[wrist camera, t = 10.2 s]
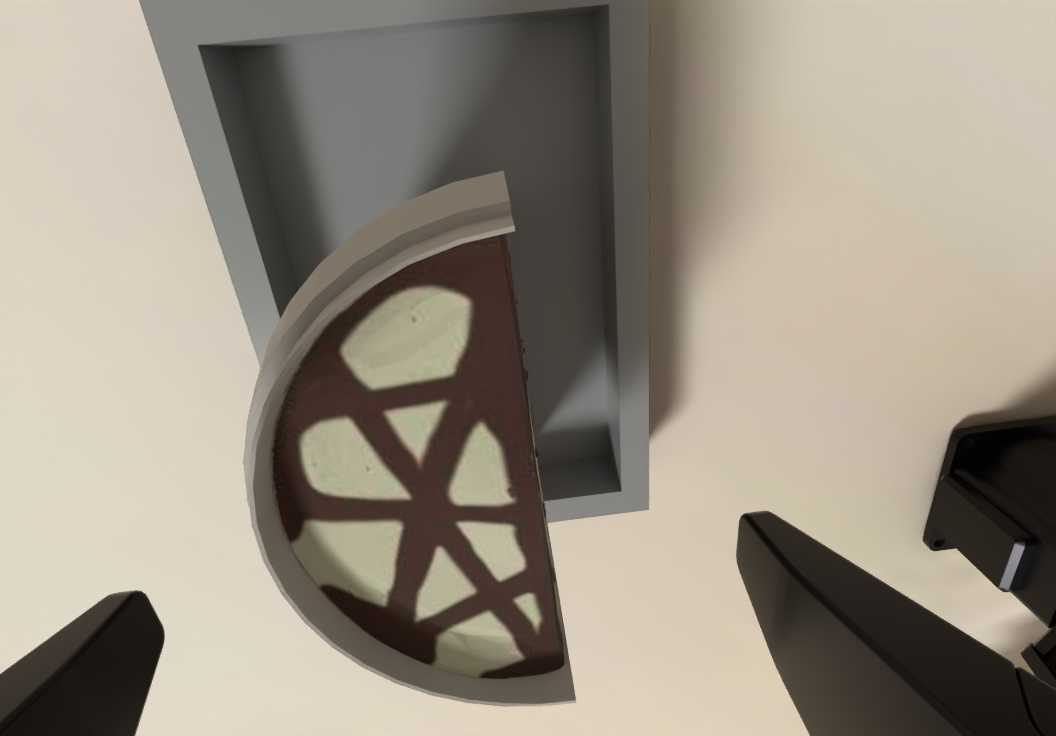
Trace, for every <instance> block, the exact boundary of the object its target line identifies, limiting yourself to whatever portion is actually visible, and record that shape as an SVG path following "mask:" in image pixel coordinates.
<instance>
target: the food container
mask: <svg viewBox="0 0 1056 736" xmlns="http://www.w3.org/2000/svg"><path fill="white" fill-rule="evenodd" d="M513 231H515V226H514V222H513V218H512V213H511V206H510V199H509V194H508V189H507V185H506V180H505V175H504V171H499V172H495V173H491V174H487V175H482V176H478V177H474V178H469V179H465V180H461V181H457V182H452V183H450V184H448V185H445V186H443V187H440V188H438V189H435V190H433V191H430V192H428V193H425V194H423V195H420V196H418V197H415V198H413V199H411V200H408V201H406V202H403V203H401V204H400V205H398V206H396V207H395V208H393V209H391V210H390V211H388V212H387V213H385V214H383V215H382V216H380V217H378V218H377V219H375V220H374V221H372V222H370V223H369V224H367V225H365V226H364V227H362V228H361V229H359V230H357V231H356V232H355V233H354V234H353V235H352V236H350V237H349V238H348V239H347V240H346V241H345V242H344V243H343V244H341V245H340V246H339V247H338V248H337V249H336V250H335V251H333V252H332V253H331V254H330V255H329V256H328V257H327V258H326V259H324V260H323V261H322V262H321V263H320V264H319V265H318V266H317V268H316V269H315V270H314V271H313V273H312V274H311V275H310V276H309V278H308V279H307V280H306V281H305V283H304V284H303V285H302V287H301V288H300V289H299V290H298V292H297V293H296V294H295V295H294V297H293V298H292V299H291V301H290V302H289V304H288V306H287V307H286V309H285V311H284V313H283V315H282V317H281V319H280V321H279V323H278V325H277V327H276V328H275V330H274V332H273V334H272V336H271V338H270V340H269V342H268V345H267V348H266V352H265V355H264V359H263V362H262V365H261V369H260V372H259V375H258V379H257V382H256V386H255V390H254V395H253V399H252V403H251V407H250V412H249V416H248V420H247V430H246V440H245V451H244V462H243V463H244V472H245V481H246V491H247V500H248V504H249V508H250V512H251V521H252V527H253V530H254V533H255V536H256V539H257V542H258V546H259V549H260V552H261V555H262V558H263V561H264V563H265V565H266V567H267V568H268V570H269V572H270V574H271V576H272V578H273V579H274V581H275V583H276V585H277V587H278V588H279V590H280V592H281V594H282V595H283V596H284V598H285V599H286V600H287V601H288V603H289V604H290V605H291V606H292V608H293V609H294V610H295V611H296V613H297V614H298V615H299V616H300V617H301V619H302V620H303V621H304V622H305V623H306V624H307V625H308V626H309V627H310V628H311V629H312V630H313V631H315V632H316V633H317V634H318V635H319V636H320V637H321V638H322V639H323V640H325V641H326V642H327V643H328V644H329V645H330V646H331V647H333V648H334V649H336V650H337V651H339V652H340V653H342V654H343V655H345V656H346V657H348V658H349V659H351V660H352V661H354V662H355V663H357V664H358V665H360V666H361V667H363V668H365V669H367V670H369V671H371V672H373V673H375V674H378V675H380V676H382V677H384V678H386V679H388V680H390V681H392V682H394V683H396V684H399V685H402V686H405V687H408V688H411V689H414V690H417V691H420V692H423V693H426V694H429V695H433V696H438V697H442V698H447V699H452V700H456V701H461V702H466V703H474V704H484V705H494V706H504V707H508V706H548V705H558V704H568V703H576V698H575V692H574V685H573V679H572V673H571V667H570V661H569V655H568V648H567V642H566V636H565V630H564V624H563V618H562V611H561V605H560V599H559V593H558V587H557V580H556V574H555V568H554V562H553V556H552V550H551V543H550V537H549V531H548V525H547V519H546V509H545V503H544V500H543V494H542V488H541V482H540V474H539V470H540V467H538V463H537V457H538V456H539V452H538V450H537V449H536V447H535V441H534V436H533V424H534V420H533V418H532V410H531V405H530V403H529V398H528V392H527V380H528V372H527V370H526V369H525V364H524V357H523V354H524V352H525V350H526V349H525V348H523V345H522V344H523V340H522V339H521V336H520V329H519V322H518V314H517V307H516V305H517V304H518V300H517V298H516V295H515V290H514V284H513V277H512V270H511V255H510V252H509V251H508V245H507V240H506V234H505V233H509V232H513Z"/></svg>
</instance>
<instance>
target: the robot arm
mask: <svg viewBox="0 0 1056 736" xmlns="http://www.w3.org/2000/svg"><path fill="white" fill-rule="evenodd" d="M923 542H924V543H925V545H926V546H927V547H928V548H929V549H930V550H933V551H940V550H947V549H955V548H957V549H958V550H959V551H960V552H961V553H962V554H963V555H964V556H965V557H966V558H967V559H968V560H969V561H970V562H971V563H972V564H973V565H974V566H975V567H976V568H977V569H978V570H979V571H981V572H982V573H983V574H984V575H985V576H986V577H987V578H988V579H989V580H990V581H991V582H992V583H993V584H994V585H995V586H996V587H997V588H998V589H1000V590H1001V591H1003V592H1011V593H1012V594H1013V595H1014V596H1016V597H1017V598H1018V599H1019V600H1020V601H1021V602H1022V603H1023V604H1024V605H1025V606H1026V607H1027V608H1028V609H1029V610H1030V611H1031V612H1032V613H1034V614H1035V615H1036V616H1037V617H1038V618H1039V619H1040V620H1041V621H1042V622H1043V623H1044V624H1045V625H1046V626H1047V627H1048V628H1050V629H1049V630H1048V631H1047V632H1046V633H1045V634H1044V635H1043V636H1042V637H1041V638H1040V639H1039V640H1038V641H1037V642H1035V643H1034V644H1032V643H1030V644H1029V645H1028V646H1027V647H1026V648H1025V649H1024V650H1023V651H1022V652H1021V655H1022V657H1023V658H1024V660H1025V661H1026V662H1027V664H1028V665H1029V667H1030V668H1031V670H1032V671H1033V672H1034V675H1035V676H1034V675H1032V674H1031V673H1029V672H1027V671H1026V670H1024V669H1023V668H1021V667H1016V668H1015V667H1014V664H1013V663H1012V662H1011V661H1009V660H1008V659H1006V658H1005V657H1003V656H1001V655H1000V654H998V653H997V652H995V651H993V650H992V649H990V648H988V647H987V646H985V645H984V644H982V643H980V642H979V641H977V640H976V639H974V638H972V637H971V636H969V635H968V634H966V633H964V632H963V631H961V630H960V629H958V628H956V627H955V626H953V625H952V624H950V623H948V622H947V621H945V620H944V619H942V618H940V617H939V616H937V615H936V614H934V613H932V612H931V611H929V610H927V609H926V608H924V607H923V606H921V605H919V604H918V603H916V602H915V601H913V600H911V599H910V598H908V597H907V596H905V595H903V594H902V593H900V592H899V591H897V590H895V589H894V588H892V587H891V586H889V585H887V584H886V583H884V582H883V581H881V580H879V579H878V578H876V577H874V576H873V575H871V574H870V573H868V572H866V571H865V570H863V569H862V568H860V567H858V566H857V565H855V564H854V563H852V562H850V561H849V560H847V559H846V558H844V557H842V556H841V555H839V554H838V553H836V552H834V551H833V550H831V549H830V548H828V547H826V546H825V545H823V544H821V543H820V542H818V541H817V540H815V539H813V538H812V537H810V536H809V535H807V534H805V533H804V532H802V531H801V530H799V529H797V528H796V527H794V526H793V525H791V524H789V523H788V522H786V521H785V520H783V519H781V518H780V517H778V516H777V515H775V514H773V513H771V512H769V511H759V512H751V513H745V514H743V515H742V516H741V518H740V520H739V529H738V540H737V551H736V558H737V564H738V568H739V571H740V574H741V577H742V579H743V582H744V585H745V587H746V590H747V593H748V595H749V598H750V601H751V603H752V606H753V608H754V611H755V614H756V616H757V619H758V622H759V624H760V627H761V630H762V632H763V635H764V638H765V640H766V643H767V646H768V648H769V651H770V653H771V656H772V658H773V661H774V663H775V666H776V668H777V670H778V672H779V674H780V676H781V678H782V681H783V683H784V685H785V687H786V689H787V691H788V693H789V695H790V697H791V699H792V701H793V703H794V705H795V707H796V709H797V711H798V713H799V715H800V717H801V719H802V721H803V723H804V725H805V727H806V729H807V731H808V733H809V735H810V736H1056V416H1055V417H1047V418H1039V419H1031V420H1023V421H1015V422H1008V423H1000V424H992V425H984V426H976V427H968V428H962V429H959V430H958V431H956V432H955V433H954V434H953V435H952V436H951V438H950V441H949V445H948V448H947V452H946V456H945V459H944V463H943V467H942V470H941V474H940V478H939V481H938V485H937V489H936V492H935V496H934V500H933V503H932V507H931V510H930V514H929V518H928V521H927V525H926V529H925V532H924V536H923ZM164 638H165V635H164V628H163V626H162V624H161V622H160V620H159V618H158V616H157V614H156V612H155V610H154V608H153V606H152V605H151V603H150V601H149V599H148V597H147V595H146V594H145V593H143V592H142V591H138V590H135V591H127V592H119V593H114V594H111V595H108V596H107V597H105V598H104V599H102V600H101V601H100V602H98V603H97V604H96V605H94V606H93V607H91V608H90V609H89V610H87V611H86V612H85V613H83V614H82V615H80V616H79V617H78V618H76V619H75V620H74V621H72V622H71V623H69V624H68V625H67V626H65V627H64V628H63V629H61V630H60V631H59V632H57V633H56V634H54V635H53V636H52V637H50V638H49V639H48V640H46V641H45V642H43V643H42V644H41V645H39V646H38V647H37V648H35V649H34V650H33V651H31V652H30V653H28V654H27V655H26V656H24V657H23V658H22V659H20V660H19V661H17V662H16V663H15V664H13V665H12V666H11V667H9V668H8V669H7V670H5V671H4V672H2V673H1V674H0V736H135V734H136V731H137V728H138V725H139V722H140V718H141V715H142V712H143V709H144V706H145V702H146V699H147V696H148V693H149V690H150V687H151V683H152V680H153V677H154V674H155V671H156V668H157V664H158V661H159V658H160V655H161V652H162V648H163V645H164Z"/></svg>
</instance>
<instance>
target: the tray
mask: <svg viewBox="0 0 1056 736" xmlns="http://www.w3.org/2000/svg"><path fill="white" fill-rule="evenodd" d="M139 2H140V5H141V8H142V11H143V14H144V17H145V20H146V23H147V26H148V29H149V32H150V35H151V38H152V41H153V44H154V47H155V50H156V53H157V56H158V59H159V62H160V65H161V68H162V71H163V74H164V77H165V80H166V83H167V86H168V89H169V92H170V95H171V98H172V101H173V104H174V108H175V111H176V114H177V117H178V120H179V123H180V126H181V129H182V132H183V135H184V138H185V141H186V144H187V147H188V150H189V153H190V156H191V159H192V162H193V165H194V168H195V171H196V174H197V177H198V180H199V183H200V186H201V189H202V192H203V195H204V198H205V201H206V204H207V207H208V210H209V213H210V216H211V219H212V222H213V225H214V228H215V231H216V234H217V237H218V240H219V243H220V246H221V249H222V252H223V255H224V259H225V262H226V265H227V268H228V271H229V274H230V277H231V280H232V283H233V286H234V289H235V292H236V295H237V298H238V301H239V304H240V307H241V310H242V313H243V316H244V319H245V322H246V325H247V328H248V331H249V334H250V337H251V340H252V343H253V346H254V349H255V352H256V355H257V358H258V361H259V364H260V367H261V365H262V362H263V359H264V355H265V352H266V348H267V345H268V342H269V340H270V338H271V336H272V334H273V332H274V330H275V328H276V327H277V325H278V323H279V321H280V319H281V317H282V315H283V313H284V311H285V309H286V307H287V306H288V304H289V302H290V301H291V299H292V298H293V297H294V295H295V294H296V293H297V292H298V290H299V289H300V288H301V287H302V285H303V284H304V283H305V281H306V280H307V279H308V278H309V276H310V275H311V274H312V273H313V271H314V270H315V269H316V268H317V266H318V265H319V264H320V263H321V262H322V261H323V260H324V259H326V258H327V257H328V256H329V255H330V254H331V253H332V252H333V251H335V250H336V249H337V248H338V247H339V246H340V245H341V244H343V243H344V242H345V241H346V240H347V239H348V238H349V237H350V236H352V235H353V234H354V233H355V232H356V231H357V230H359V229H361V228H362V227H364V226H365V225H367V224H369V223H370V222H372V221H374V220H375V219H377V218H378V217H380V216H382V215H383V214H385V213H387V212H388V211H390V210H391V209H393V208H395V207H396V206H398V205H400V204H401V203H403V202H406V201H408V200H411V199H413V198H415V197H418V196H420V195H423V194H425V193H428V192H430V191H433V190H435V189H438V188H440V187H443V186H445V185H448V184H450V183H452V182H457V181H461V180H465V179H469V178H474V177H478V176H482V175H487V174H491V173H495V172H499V171H504V175H505V180H506V185H507V189H508V194H509V199H510V206H511V213H512V218H513V222H514V226H515V231H513V232H509V233H505V234H506V240H507V245H508V251H509V252H510V255H511V270H512V277H513V284H514V290H515V295H516V298H517V300H518V304H517V305H516V307H517V314H518V322H519V329H520V336H521V339H522V340H523V344H522V345H523V348H525V349H526V350H525V352H524V354H523V357H524V364H525V369H526V370H527V372H528V380H527V392H528V398H529V403H530V405H531V410H532V418H533V420H534V424H533V436H534V441H535V447H536V449H537V450H538V452H539V456H538V457H537V463H538V467H540V470H539V474H540V482H541V488H542V494H543V500H544V503H545V509H546V519H547V523H549V522H557V521H565V520H573V519H580V518H588V517H596V516H604V515H611V514H619V513H627V512H635V511H643V510H649V0H139Z"/></svg>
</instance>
